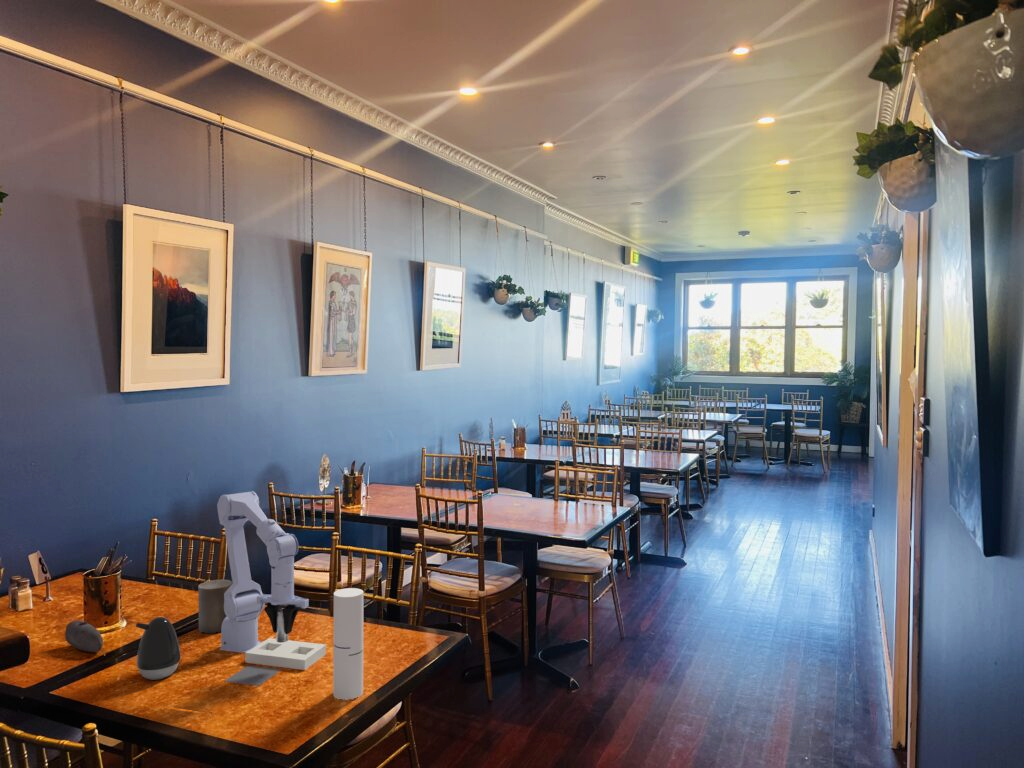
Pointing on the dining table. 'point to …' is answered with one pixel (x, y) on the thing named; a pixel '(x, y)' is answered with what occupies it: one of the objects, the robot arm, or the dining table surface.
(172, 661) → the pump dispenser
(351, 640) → the cylindrical container
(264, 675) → the mat
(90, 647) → the grey river pebble
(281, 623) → the peg
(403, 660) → the dining table surface
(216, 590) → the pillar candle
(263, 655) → the hole block
